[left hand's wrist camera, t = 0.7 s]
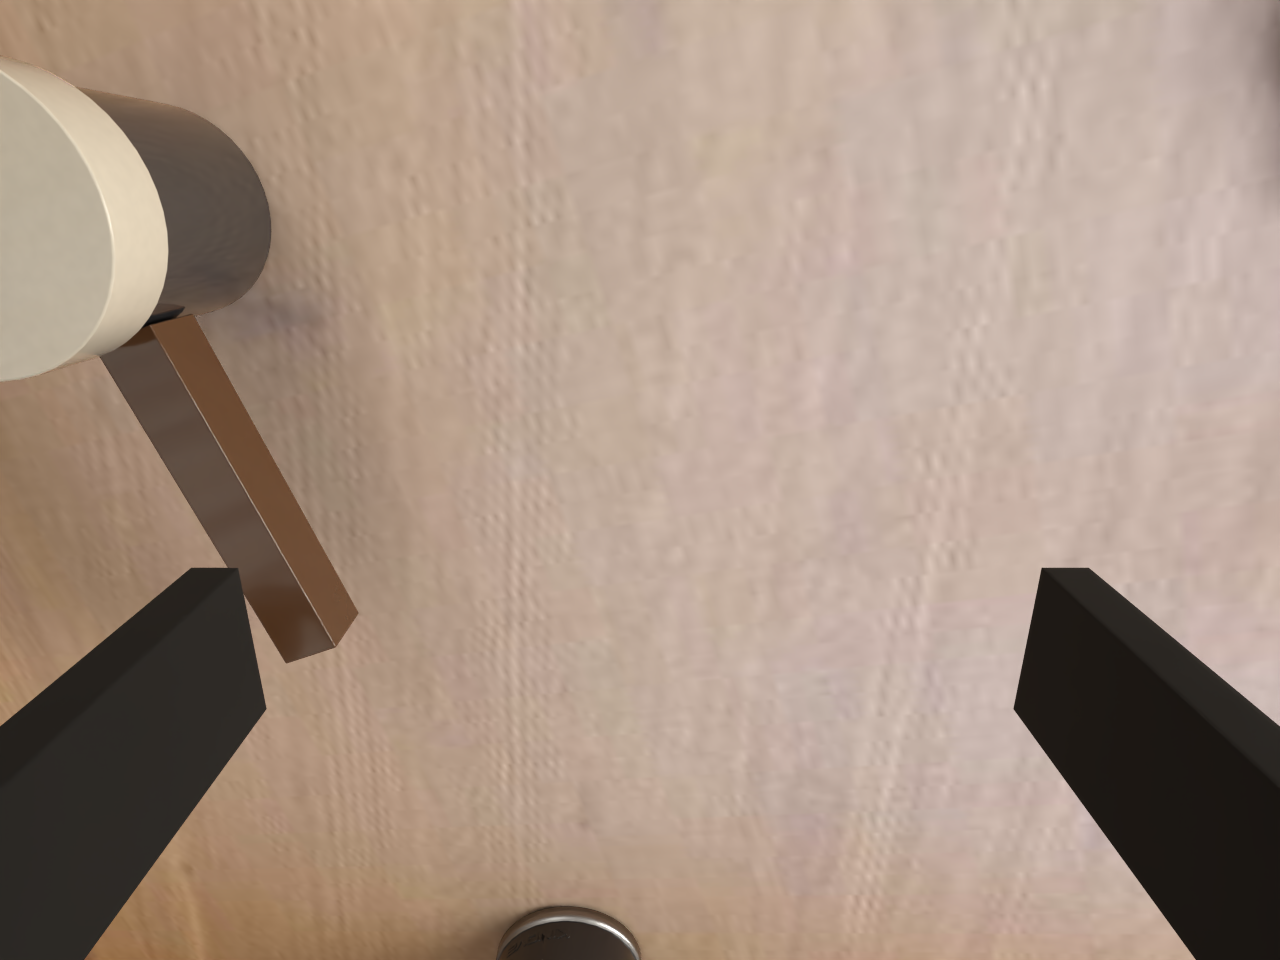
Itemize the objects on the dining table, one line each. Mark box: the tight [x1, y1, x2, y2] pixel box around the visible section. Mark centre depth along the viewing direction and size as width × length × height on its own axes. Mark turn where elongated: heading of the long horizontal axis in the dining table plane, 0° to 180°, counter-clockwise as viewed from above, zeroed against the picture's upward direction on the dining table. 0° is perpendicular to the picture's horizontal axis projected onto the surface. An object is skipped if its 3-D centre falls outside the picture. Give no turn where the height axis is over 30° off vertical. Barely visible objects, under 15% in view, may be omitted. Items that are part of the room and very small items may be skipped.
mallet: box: [74, 86, 358, 663], centre depth 33 cm, size 24×9×9 cm, turn 20°
